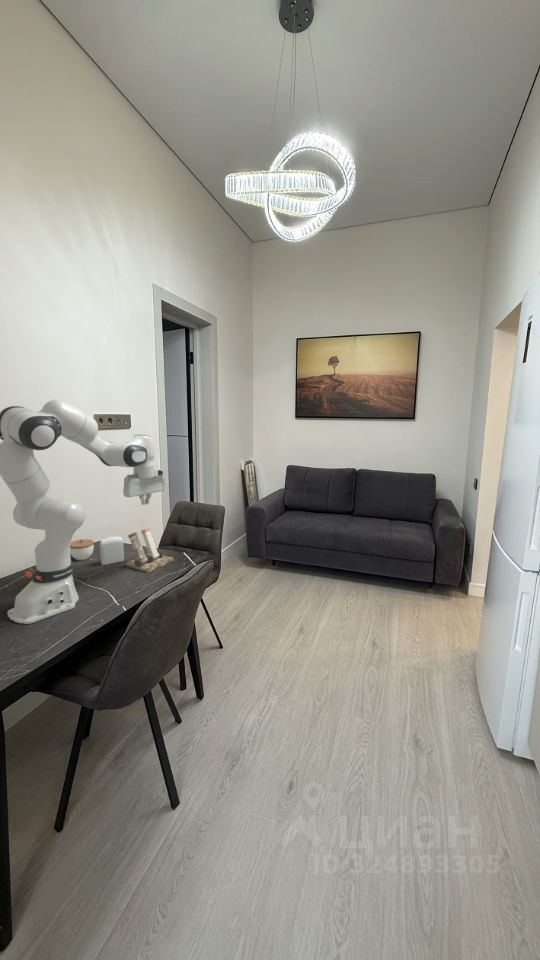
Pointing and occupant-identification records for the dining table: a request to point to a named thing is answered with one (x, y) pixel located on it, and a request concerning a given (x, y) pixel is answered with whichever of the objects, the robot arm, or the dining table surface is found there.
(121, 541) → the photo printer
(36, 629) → the dining table surface
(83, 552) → the lidded jar
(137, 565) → the console
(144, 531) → the lever
